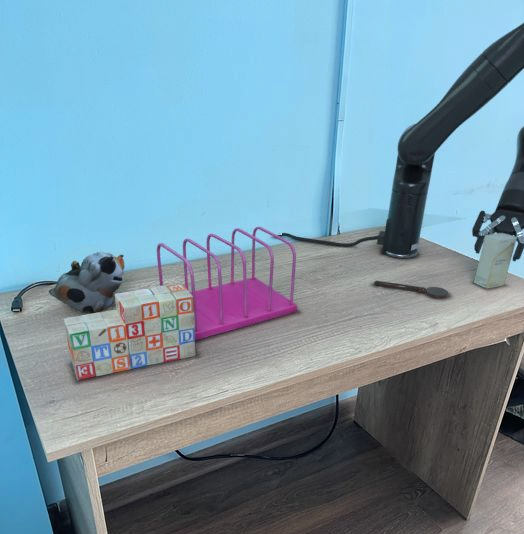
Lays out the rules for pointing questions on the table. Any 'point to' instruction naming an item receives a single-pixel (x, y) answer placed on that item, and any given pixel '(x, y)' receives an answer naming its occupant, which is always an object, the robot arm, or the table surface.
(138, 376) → the table surface
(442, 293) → the spoon
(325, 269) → the table surface
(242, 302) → the file sorter
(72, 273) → the lucky cat figurine
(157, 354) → the stack of blocks
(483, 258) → the cosmetic box
